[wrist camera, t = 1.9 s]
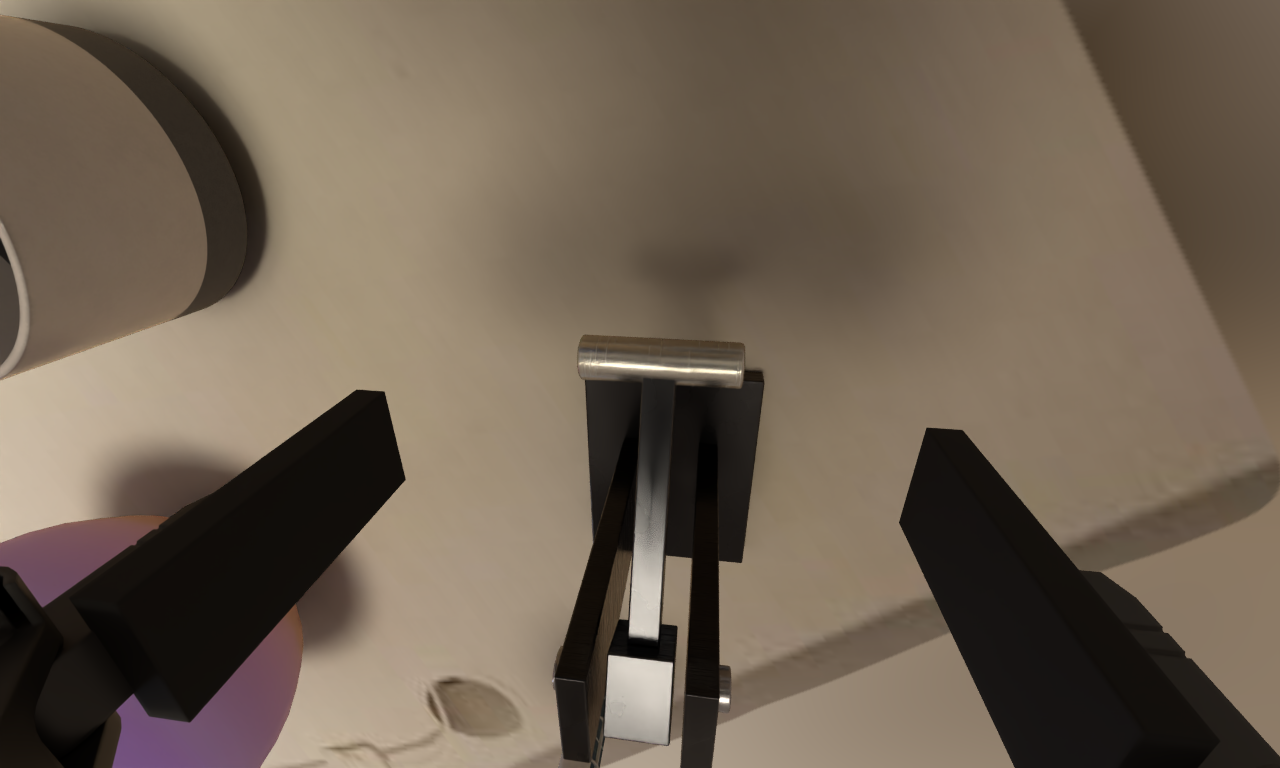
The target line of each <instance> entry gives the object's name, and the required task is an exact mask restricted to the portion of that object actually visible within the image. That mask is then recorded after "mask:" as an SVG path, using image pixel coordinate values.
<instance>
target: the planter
mask: <svg viewBox="0 0 1280 768" xmlns="http://www.w3.org/2000/svg"><path fill="white" fill-rule="evenodd" d="M246 248H247V222H246V215H245V209H244V204H243V200H242V196H241V192H240V189H239V186H238V183H237V180H236V178H235V175H234V172H233V170H232V168H231V165H230V163H229V161H228V159H227V157H226V155H225V153H224V151H223V149H222V147H221V146H220V144H219V142H218V140H217V139H216V137H215V135H214V134H213V132H212V131H211V129H210V128H209V126H208V125H207V123H206V122H205V121H204V119H203V118H202V116H201V115H200V114H199V113H198V111H197V110H196V109H195V107H194V106H193V105H192V104H191V103H190V102H189V100H188V99H187V98H186V97H185V96H184V95H183V94H182V93H181V92H180V91H179V89H178V88H177V87H176V86H175V85H173V84H172V83H171V82H170V81H169V80H168V79H167V78H166V77H165V76H164V75H163V74H162V73H160V72H159V71H158V70H157V69H156V68H154V67H153V66H152V65H151V64H149V63H148V62H147V61H145V60H144V59H143V58H141V57H140V56H138V55H137V54H135V53H134V52H132V51H131V50H129V49H127V48H126V47H124V46H122V45H121V44H119V43H117V42H115V41H113V40H111V39H109V38H107V37H104V36H102V35H100V34H97V33H94V32H92V31H89V30H85V29H82V28H78V27H73V26H68V25H61V24H55V23H49V22H42V21H36V20H30V19H24V18H17V17H11V16H5V15H0V380H3V379H6V378H9V377H11V376H14V375H17V374H20V373H23V372H26V371H28V370H31V369H34V368H37V367H40V366H43V365H46V364H48V363H51V362H54V361H57V360H60V359H63V358H65V357H68V356H71V355H74V354H77V353H80V352H82V351H85V350H88V349H91V348H94V347H97V346H99V345H102V344H105V343H108V342H111V341H114V340H116V339H119V338H122V337H125V336H128V335H131V334H134V333H136V332H139V331H142V330H145V329H148V328H151V327H153V326H156V325H159V324H162V323H165V322H168V321H170V320H173V319H176V318H179V317H182V316H185V315H187V314H190V313H193V312H196V311H199V310H202V309H204V308H207V307H209V306H211V305H213V304H214V303H216V302H218V301H219V300H220V299H222V298H223V297H224V296H225V295H226V294H227V293H228V292H229V291H230V289H231V288H232V287H233V285H234V284H235V282H236V280H237V279H238V277H239V275H240V272H241V270H242V267H243V263H244V260H245V255H246Z"/></svg>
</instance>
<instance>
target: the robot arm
mask: <svg viewBox="0 0 1280 768" xmlns="http://www.w3.org/2000/svg"><path fill="white" fill-rule="evenodd" d="M405 480H406V479H405V475H404V471H403V467H402V462H401V458H400V454H399V450H398V446H397V442H396V437H395V433H394V429H393V425H392V421H391V417H390V412H389V408H388V404H387V400H386V396H385V392H383V391H368V390H356V391H354V392H353V393H351V394H350V395H349V396H347V397H346V398H344V399H343V400H342V401H340V402H339V403H338V404H336V405H335V406H333V407H332V408H331V409H329V410H328V411H326V412H325V413H324V414H322V415H321V416H320V417H318V418H317V419H315V420H314V421H313V422H311V423H310V424H308V425H307V426H306V427H304V428H303V429H302V430H300V431H299V432H297V433H296V434H295V435H293V436H292V437H290V438H289V439H288V440H286V441H285V442H284V443H282V444H281V445H279V446H278V447H277V448H275V449H274V450H272V451H271V452H270V453H268V454H267V455H266V456H264V457H263V458H261V459H260V460H259V461H257V462H256V463H254V464H253V465H252V466H250V467H249V468H248V469H246V470H245V471H243V472H242V473H241V474H239V475H238V476H236V477H235V478H234V479H232V480H231V481H230V482H228V483H227V484H225V485H224V486H223V487H221V488H220V489H218V490H217V491H216V492H214V493H212V494H210V495H208V496H206V497H204V498H202V499H200V500H198V501H196V502H194V503H191V504H189V505H187V506H185V507H184V508H182V509H181V510H180V511H178V512H177V513H175V514H174V515H173V516H171V517H170V518H168V519H167V520H166V521H164V522H163V523H161V524H160V525H159V528H158V529H153V530H151V531H150V532H149V533H147V534H146V535H144V536H143V537H142V538H140V539H139V540H137V543H136V545H130V546H129V547H127V548H126V549H125V550H123V551H122V552H120V553H119V554H118V555H116V556H115V557H113V558H112V559H110V560H109V561H108V562H106V563H105V564H103V565H102V566H101V567H99V568H98V569H96V570H95V571H94V572H92V573H91V574H89V575H88V576H87V577H85V578H84V579H82V580H81V581H79V582H78V583H77V584H75V585H74V586H72V587H71V588H70V589H68V590H67V591H65V592H64V593H63V594H61V595H60V596H58V597H57V598H55V599H54V600H53V601H51V602H50V603H48V604H47V605H46V606H44V607H41V605H40V604H39V602H38V601H37V600H36V598H35V597H34V596H33V594H32V593H31V591H30V590H29V589H28V587H27V586H26V584H25V583H24V582H23V580H22V579H21V577H20V576H19V575H18V573H17V572H16V571H14V570H13V569H11V568H10V567H5V566H0V768H112V766H113V762H114V758H115V754H116V750H117V746H118V741H119V737H120V733H121V729H122V726H121V717H120V715H119V714H118V713H117V711H116V710H117V709H118V708H119V707H120V706H121V705H122V704H123V703H124V702H125V701H126V700H127V699H128V698H129V697H130V696H131V695H132V694H134V695H135V697H136V698H137V700H138V701H139V703H140V704H141V705H142V707H143V708H144V710H145V711H146V713H147V714H148V716H149V717H155V718H162V719H169V720H175V721H182V722H188V723H190V722H191V721H192V720H193V719H194V718H195V717H196V716H197V714H198V713H199V712H200V711H201V710H202V709H203V708H204V707H205V705H206V704H207V703H208V702H209V701H210V700H211V699H212V698H213V696H214V695H215V694H216V693H217V692H218V691H219V690H220V689H221V687H222V686H223V685H224V684H225V683H226V682H227V681H228V680H229V678H230V677H231V676H232V675H233V674H234V673H235V672H236V670H237V669H238V668H239V667H240V666H241V665H242V664H243V663H244V661H245V660H246V659H247V658H248V657H249V656H250V655H251V654H252V652H253V651H254V650H255V649H256V648H257V647H258V646H259V645H260V643H261V642H262V641H263V640H264V639H265V638H266V637H267V636H268V634H269V633H270V632H271V631H272V630H273V629H274V628H275V626H276V625H277V624H278V623H279V622H280V621H281V620H282V619H283V617H284V616H285V615H286V614H287V613H288V612H289V611H290V610H291V608H292V607H293V606H294V605H295V604H296V603H297V602H298V601H299V599H300V598H301V597H302V596H303V595H304V594H305V593H306V592H307V590H308V589H309V588H310V587H311V586H312V585H313V584H314V582H315V581H316V580H317V579H318V578H319V577H320V576H321V575H322V573H323V572H324V571H325V570H326V569H327V568H328V567H329V566H330V564H331V563H332V562H333V561H334V560H335V559H336V558H337V557H338V555H339V554H340V553H341V552H342V551H343V550H344V549H345V548H346V546H347V545H348V544H349V543H350V542H351V541H352V540H353V538H354V537H355V536H356V535H357V534H358V533H359V532H360V531H361V529H362V528H363V527H364V526H365V525H366V524H367V523H368V522H369V520H370V519H371V518H372V517H373V516H374V515H375V514H376V513H377V511H378V510H379V509H380V508H381V507H382V506H383V505H384V504H385V502H386V501H387V500H388V499H389V498H390V497H391V496H392V494H393V493H394V492H395V491H396V490H397V489H398V488H399V487H400V485H401V484H402V483H403V482H404V481H405ZM899 523H900V526H901V528H902V530H903V532H904V534H905V536H906V538H907V540H908V543H909V545H910V547H911V549H912V551H913V553H914V555H915V557H916V559H917V562H918V564H919V566H920V568H921V570H922V572H923V574H924V576H925V579H926V581H927V583H928V585H929V587H930V589H931V591H932V593H933V595H934V598H935V600H936V602H937V604H938V606H939V608H940V610H941V612H942V615H943V617H944V619H945V621H946V623H947V625H948V627H949V629H950V631H951V634H952V635H953V638H954V640H955V642H956V644H957V646H958V648H959V651H960V653H961V655H962V657H963V659H964V661H965V663H966V665H967V667H968V670H969V671H970V674H971V676H972V678H973V680H974V682H975V684H976V686H977V689H978V691H979V693H980V695H981V697H982V699H983V701H984V703H985V706H986V707H987V710H988V712H989V714H990V716H991V718H992V720H993V722H994V725H995V727H996V729H997V731H998V733H999V735H1000V737H1001V740H1002V742H1003V744H1004V746H1005V748H1006V750H1007V752H1008V754H1009V756H1010V759H1011V761H1012V763H1013V765H1014V767H1015V768H1280V756H1279V755H1278V754H1277V753H1276V752H1275V751H1274V750H1273V749H1272V748H1271V746H1270V745H1269V744H1268V743H1267V742H1266V741H1265V740H1264V739H1263V738H1262V737H1261V735H1260V734H1259V733H1258V732H1257V731H1256V730H1255V729H1254V728H1253V727H1252V726H1251V724H1250V723H1249V722H1248V721H1247V720H1246V719H1245V718H1244V717H1243V716H1242V714H1241V713H1240V712H1239V711H1238V710H1237V709H1236V708H1235V707H1234V706H1233V704H1232V703H1231V702H1230V701H1229V700H1228V699H1227V698H1226V697H1225V696H1224V694H1223V693H1222V692H1221V691H1220V690H1219V689H1218V688H1217V687H1216V686H1215V685H1214V683H1213V682H1212V681H1211V680H1210V679H1209V678H1208V677H1207V676H1206V675H1205V673H1204V672H1203V671H1202V670H1201V669H1200V668H1199V667H1198V666H1197V665H1196V664H1195V662H1194V661H1193V660H1192V659H1190V658H1186V656H1185V651H1184V650H1183V649H1182V648H1181V647H1180V646H1179V645H1178V644H1177V642H1176V641H1175V640H1174V639H1173V638H1172V637H1171V636H1170V635H1169V634H1168V633H1164V632H1163V630H1162V628H1163V627H1162V626H1161V625H1160V624H1159V623H1158V622H1157V621H1156V619H1155V618H1154V617H1153V616H1152V615H1151V614H1150V613H1149V612H1148V610H1147V609H1146V608H1145V607H1144V606H1143V605H1142V604H1141V603H1140V602H1139V601H1138V599H1137V598H1136V597H1134V596H1133V595H1131V594H1130V593H1129V592H1127V591H1126V590H1125V589H1123V588H1122V587H1120V586H1119V585H1118V584H1116V583H1115V582H1114V581H1112V580H1111V579H1109V578H1108V577H1107V576H1105V575H1104V574H1103V573H1101V572H1092V571H1081V570H1078V569H1077V567H1076V566H1075V565H1074V564H1073V563H1072V561H1071V560H1070V559H1069V558H1068V557H1067V555H1066V554H1065V553H1064V552H1063V550H1062V549H1061V548H1060V547H1059V546H1058V544H1057V543H1056V542H1055V541H1054V540H1053V538H1052V537H1051V536H1050V535H1049V534H1048V532H1047V531H1046V530H1045V529H1044V528H1043V526H1042V525H1041V524H1040V523H1039V522H1038V520H1037V519H1036V518H1035V517H1034V516H1033V514H1032V513H1031V512H1030V511H1029V510H1028V508H1027V507H1026V506H1025V505H1024V504H1023V502H1022V501H1021V500H1020V499H1019V498H1018V496H1017V495H1016V494H1015V493H1014V491H1013V490H1012V489H1011V488H1010V487H1009V485H1008V484H1007V483H1006V482H1005V481H1004V479H1003V478H1002V477H1001V476H1000V475H999V473H998V472H997V471H996V470H995V469H994V467H993V466H992V465H991V464H990V463H989V461H988V460H987V459H986V458H985V457H984V455H983V454H982V453H981V452H980V451H979V449H978V448H977V447H976V446H975V445H974V443H973V442H972V441H971V440H970V438H969V437H968V436H967V435H966V434H965V432H964V431H963V430H954V429H939V428H926V431H925V435H924V438H923V442H922V445H921V449H920V452H919V456H918V459H917V462H916V466H915V469H914V473H913V476H912V480H911V483H910V487H909V490H908V493H907V497H906V500H905V504H904V507H903V511H902V514H901V518H900V521H899Z"/></svg>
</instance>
